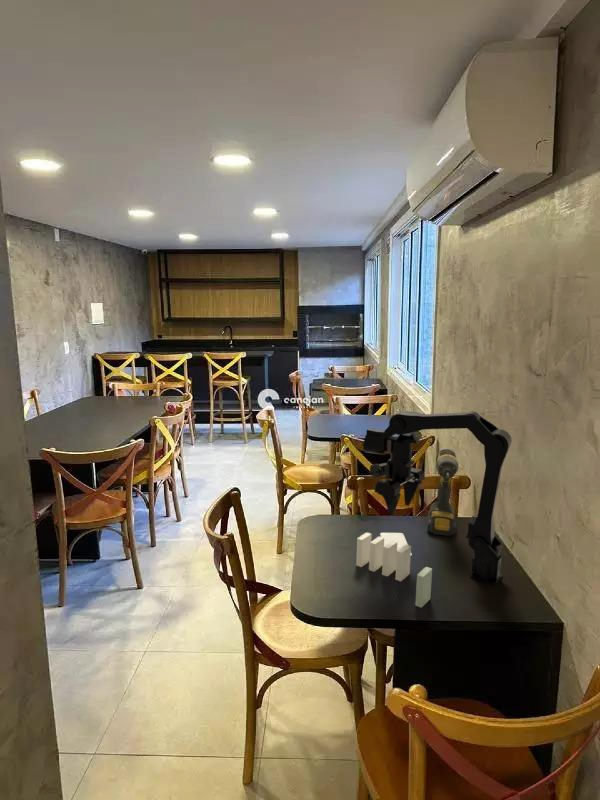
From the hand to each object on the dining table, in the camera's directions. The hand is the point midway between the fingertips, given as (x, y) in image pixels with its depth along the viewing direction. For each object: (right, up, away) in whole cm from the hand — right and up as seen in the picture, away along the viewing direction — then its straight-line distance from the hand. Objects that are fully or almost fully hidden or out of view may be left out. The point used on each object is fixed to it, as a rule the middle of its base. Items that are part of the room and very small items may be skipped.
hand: (399, 509), depth 150 cm
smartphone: (+1, -13, +10) cm, 16 cm away
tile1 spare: (+2, -18, -21) cm, 28 cm away
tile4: (-7, -15, -4) cm, 17 cm away
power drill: (+17, -11, +19) cm, 28 cm away
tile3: (-4, -15, -7) cm, 17 cm away
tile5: (-10, -14, -2) cm, 18 cm away
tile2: (-1, -16, -9) cm, 18 cm away
